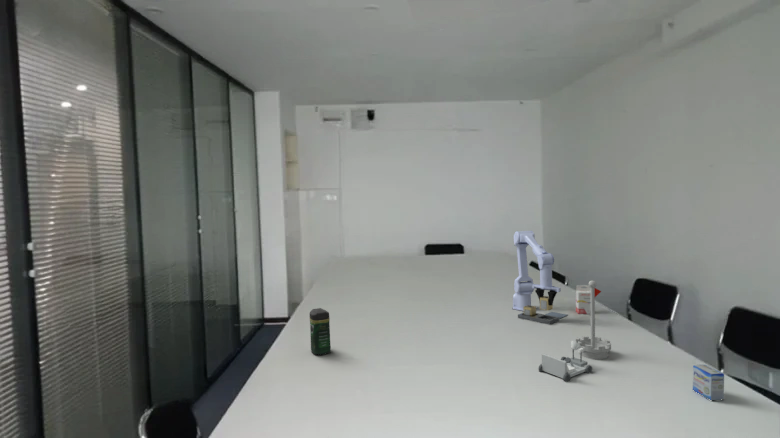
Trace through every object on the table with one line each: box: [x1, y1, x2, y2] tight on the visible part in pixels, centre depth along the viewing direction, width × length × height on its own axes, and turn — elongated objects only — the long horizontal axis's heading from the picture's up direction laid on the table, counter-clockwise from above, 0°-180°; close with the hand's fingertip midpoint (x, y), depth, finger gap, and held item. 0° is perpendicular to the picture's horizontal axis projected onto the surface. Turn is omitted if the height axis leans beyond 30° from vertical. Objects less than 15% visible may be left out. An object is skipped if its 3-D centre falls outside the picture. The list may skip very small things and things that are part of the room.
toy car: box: [537, 340, 593, 383], centre depth 169 cm, size 18×10×12 cm
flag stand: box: [575, 280, 612, 360], centre depth 185 cm, size 13×13×30 cm
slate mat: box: [544, 311, 568, 320], centre depth 242 cm, size 9×9×1 cm
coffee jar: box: [309, 307, 332, 355], centre depth 199 cm, size 10×8×19 cm
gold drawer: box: [523, 304, 537, 317], centre depth 240 cm, size 4×5×6 cm
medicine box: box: [692, 364, 725, 401], centre depth 146 cm, size 8×4×9 cm, turn 5°
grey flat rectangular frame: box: [517, 312, 560, 325], centre depth 237 cm, size 18×9×2 cm, turn 42°
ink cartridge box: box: [575, 284, 591, 315], centre depth 245 cm, size 9×5×15 cm, turn 84°
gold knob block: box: [539, 295, 554, 311], centre depth 233 cm, size 4×5×6 cm
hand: (546, 304), depth 233 cm, fingers closed on gold knob block, 4 cm apart
